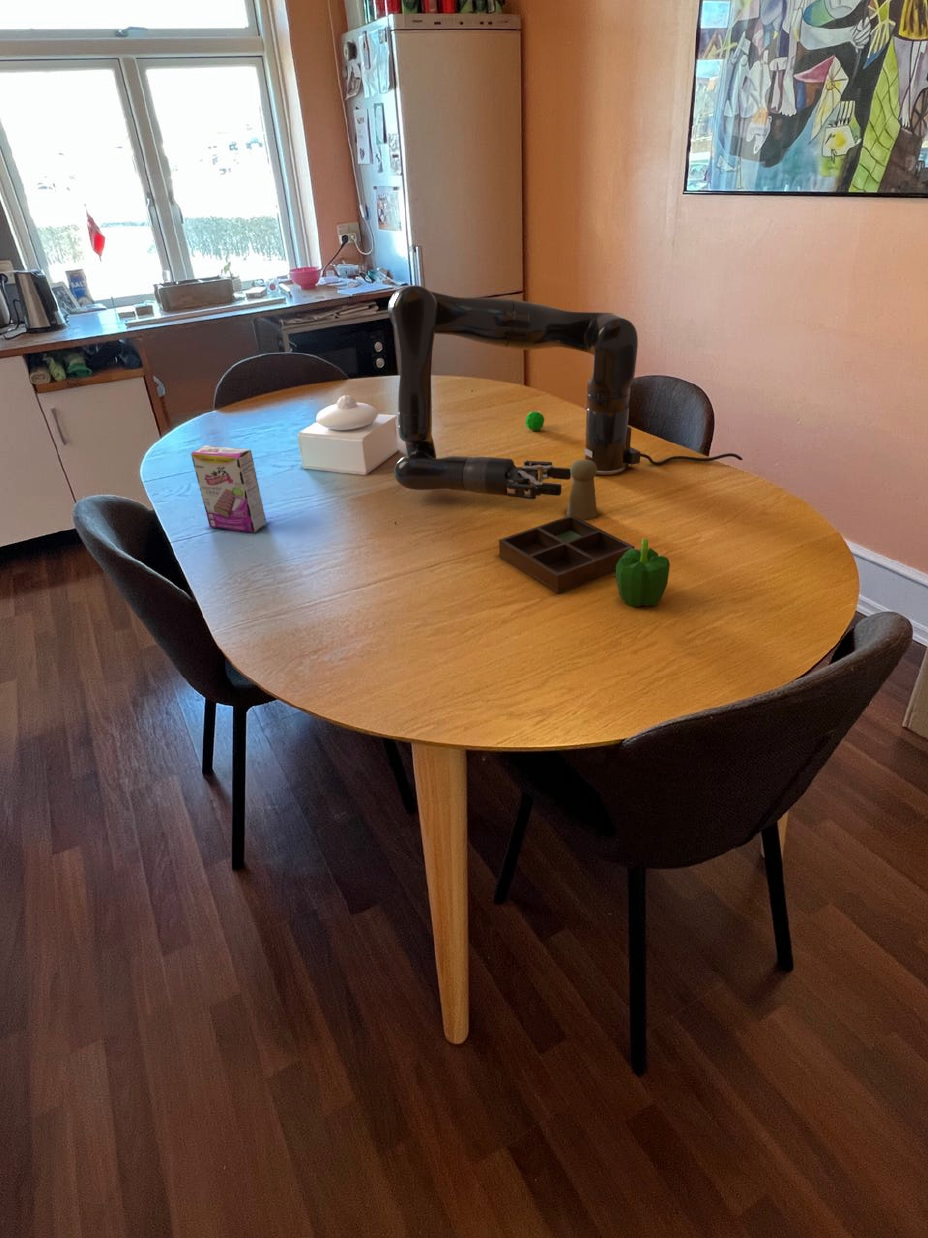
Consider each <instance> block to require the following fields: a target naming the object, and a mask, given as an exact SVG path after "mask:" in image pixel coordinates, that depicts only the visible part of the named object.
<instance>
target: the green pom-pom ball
mask: <svg viewBox="0 0 928 1238" xmlns="http://www.w3.org/2000/svg"><path fill="white" fill-rule="evenodd" d="M524 424H525V426H526V428H528V429H529V430H531V431H533V432H538V431H539V430H541V429H542V428H543V427H544V425H545V416H544V415H543V414H542V413H541V412H539V411H537V410H535V411H534V410H533V411H531V412H529V413H528V414H527V415H526V417H525V423H524Z"/></svg>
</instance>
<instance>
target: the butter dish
mask: <svg viewBox="0 0 928 1238" xmlns="http://www.w3.org/2000/svg"><path fill="white" fill-rule="evenodd" d="M315 419H316V422H314V423H313V424H311V425H308V426H307V427H305V428H303V429H302V430H300V431H299V432H298V435H296V437H297V444H298V449H299V454H300V455H299V456H300V461H301V465H302V469H304V470H305V469H306V470H314V471H324V472H331V473H332V472H334V473H342V474H352V475H359V476H360V475H361V476H367V475H368V474H369V473H370V472H372V471H373V470H375V469H376V468H378V467H379V466H380V465H381V464H382V463H384V462H385V461H387V460H388V459H389V458H391V457H392V456H393V455H394V454H395V453H397V452H398V451H399V444H398V433H397V426H396V425H397V423H396V420H398V416H397V415H396V414H384V413H383V414H381V413H379V411H378V410H377V408H376V407H375V406H372V405H370V404H367V403H363V402H357V400H356V398H354V397H353V396H352V395H347V394H345V395H342V396H341V397H339V399H338V400H337V402H336V403H335V404H332V405H329V406H327V407H325V408H323V409H321V410H320V411H319V412H318V413H317V414H316V418H315Z"/></svg>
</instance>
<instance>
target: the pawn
mask: <svg viewBox="0 0 928 1238" xmlns="http://www.w3.org/2000/svg"><path fill="white" fill-rule="evenodd" d="M569 469H570V472H571V478H572V480H571V488H570V493H569V499H568V504H567V505H568V506H567V511H566V515H567V516H570V515H573V516H575V517H577V518H579V519H581V520H583V521H584V520H585V521H586V520H591V519H594V518H595V517H597V515H598V509H597V498H596V497H597V496H596V487H595V477H596V476H597V466H596V464H595V463H594V462H593V461H590V460H585V459H578V460H575V461H574V462H572V464H571V465H570V468H569Z"/></svg>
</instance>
